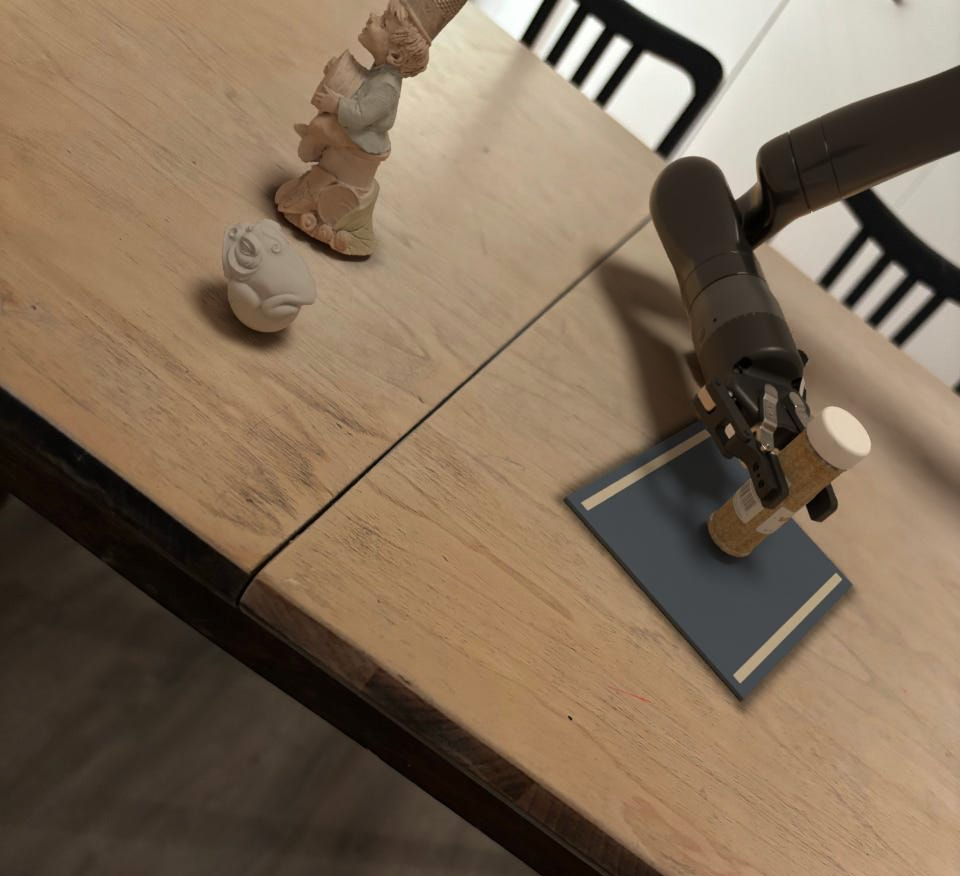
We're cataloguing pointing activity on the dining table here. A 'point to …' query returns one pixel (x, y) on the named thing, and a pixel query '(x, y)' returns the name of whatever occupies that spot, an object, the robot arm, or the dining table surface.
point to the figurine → (359, 125)
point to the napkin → (709, 557)
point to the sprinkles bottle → (792, 480)
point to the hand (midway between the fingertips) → (801, 508)
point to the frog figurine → (265, 275)
